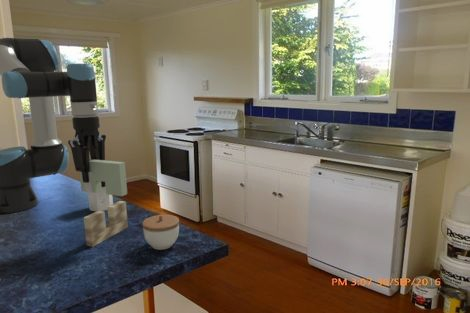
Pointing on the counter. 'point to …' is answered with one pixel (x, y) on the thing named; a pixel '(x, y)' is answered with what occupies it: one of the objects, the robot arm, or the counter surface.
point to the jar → (100, 199)
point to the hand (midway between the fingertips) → (93, 190)
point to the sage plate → (107, 177)
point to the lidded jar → (161, 231)
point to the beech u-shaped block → (97, 225)
